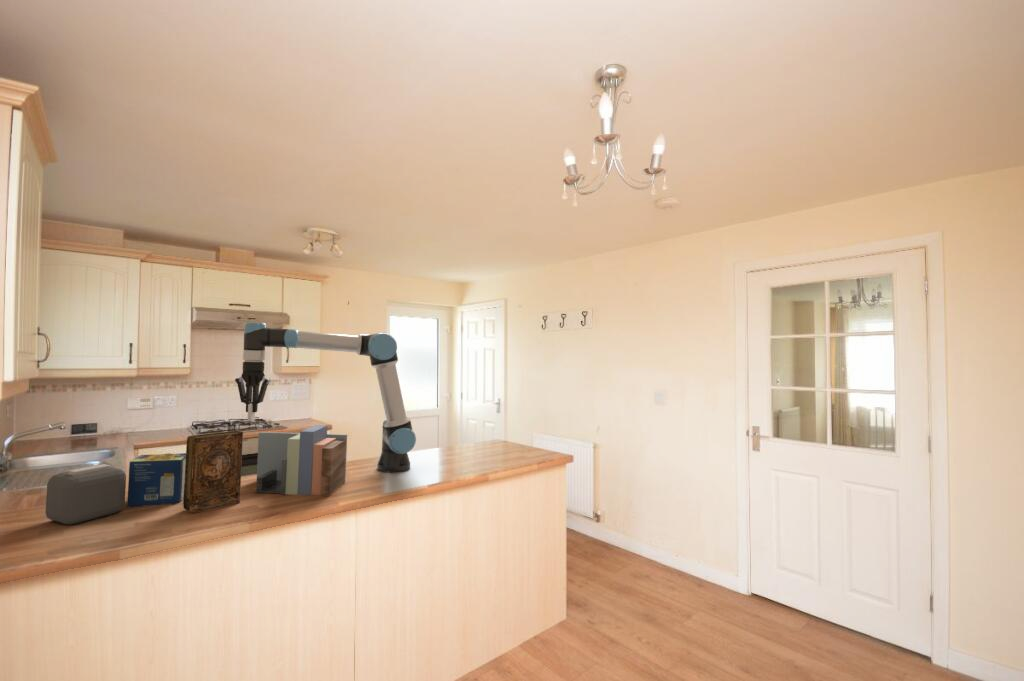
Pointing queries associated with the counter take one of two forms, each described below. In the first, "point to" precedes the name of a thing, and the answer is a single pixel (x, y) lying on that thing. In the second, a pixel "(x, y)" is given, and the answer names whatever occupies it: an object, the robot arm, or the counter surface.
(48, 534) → the counter surface
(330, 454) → the end stop
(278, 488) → the bookend
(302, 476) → the navy book
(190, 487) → the book
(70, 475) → the grey rounded-edge box
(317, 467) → the terracotta book
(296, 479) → the green book
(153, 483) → the protein box
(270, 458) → the back rail
